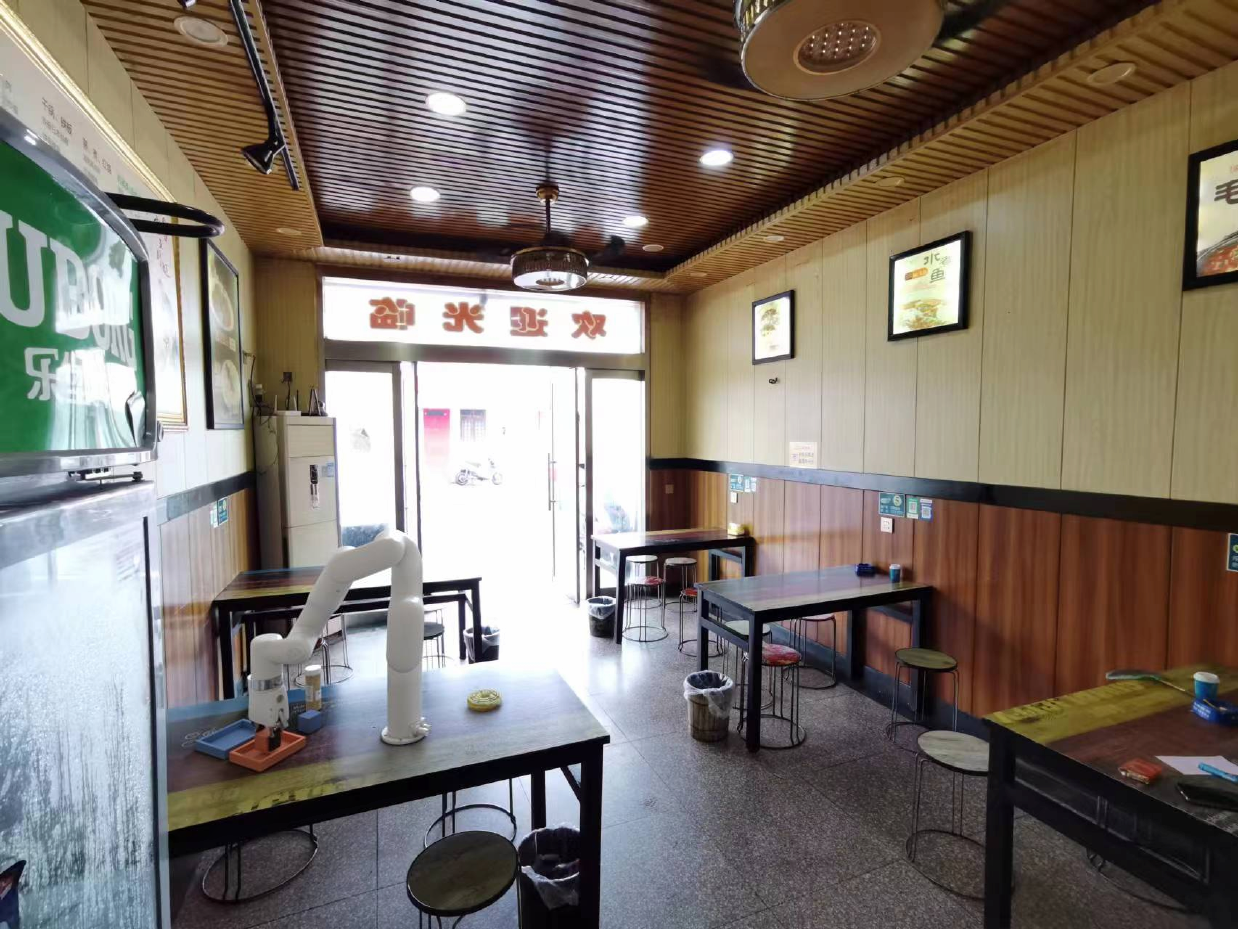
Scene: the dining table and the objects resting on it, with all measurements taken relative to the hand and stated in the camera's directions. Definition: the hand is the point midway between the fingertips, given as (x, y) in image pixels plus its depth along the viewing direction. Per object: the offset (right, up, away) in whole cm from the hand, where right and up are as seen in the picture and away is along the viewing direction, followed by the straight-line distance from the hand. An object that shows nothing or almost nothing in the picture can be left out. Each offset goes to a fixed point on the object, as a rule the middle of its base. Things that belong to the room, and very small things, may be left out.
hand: (268, 746), depth 161 cm
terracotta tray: (0, -2, 0) cm, 2 cm away
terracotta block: (0, 0, 0) cm, 0 cm away
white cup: (-17, 0, +27) cm, 32 cm away
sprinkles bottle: (-1, -1, +25) cm, 25 cm away
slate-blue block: (+4, -1, +14) cm, 14 cm away
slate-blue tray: (-12, -1, +5) cm, 14 cm away
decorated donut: (+52, -1, +30) cm, 60 cm away
